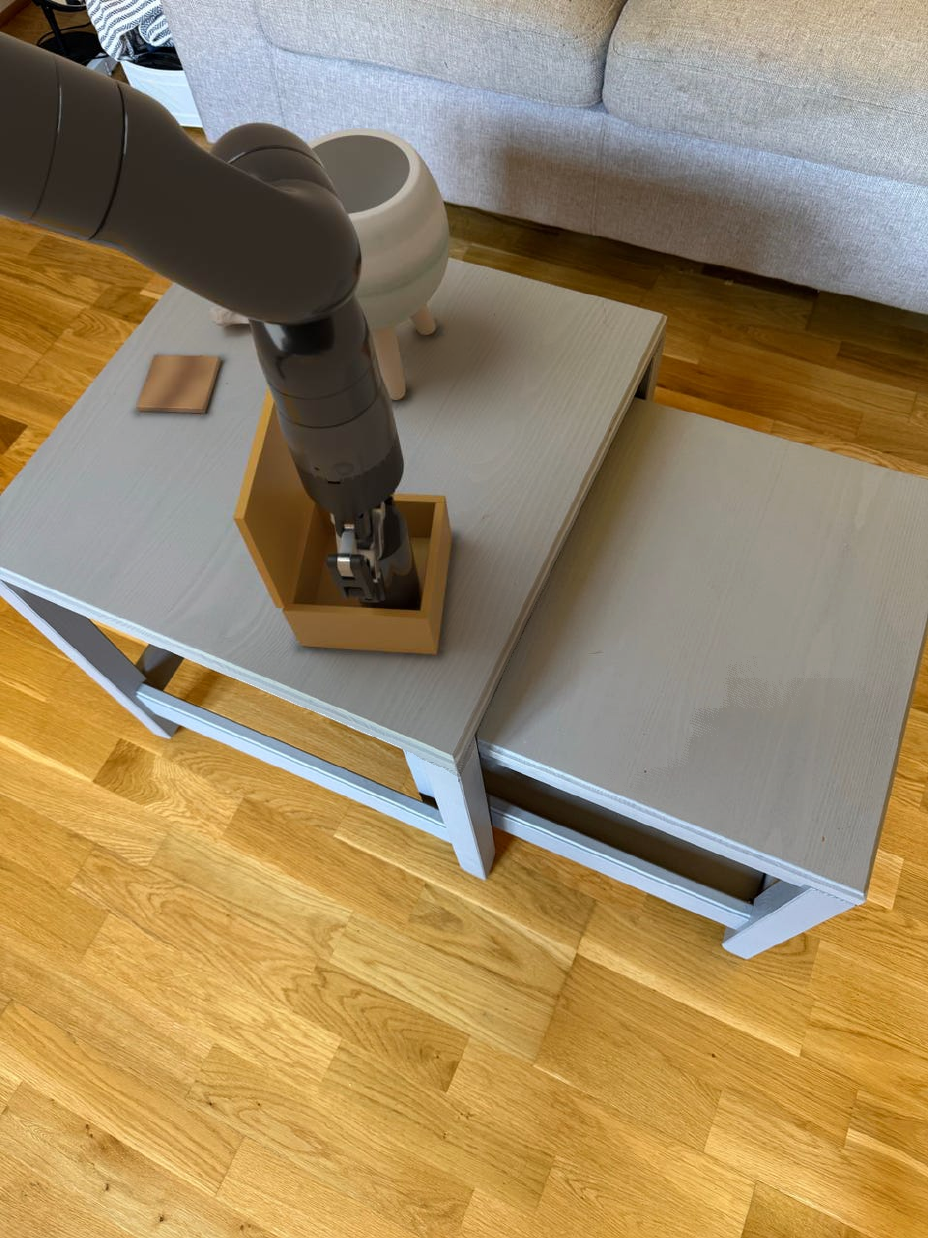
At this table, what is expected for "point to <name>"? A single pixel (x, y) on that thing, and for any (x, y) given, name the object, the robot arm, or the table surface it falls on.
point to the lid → (272, 505)
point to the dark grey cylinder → (397, 566)
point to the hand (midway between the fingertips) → (380, 559)
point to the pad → (179, 384)
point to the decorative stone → (226, 317)
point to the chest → (342, 620)
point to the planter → (390, 234)
